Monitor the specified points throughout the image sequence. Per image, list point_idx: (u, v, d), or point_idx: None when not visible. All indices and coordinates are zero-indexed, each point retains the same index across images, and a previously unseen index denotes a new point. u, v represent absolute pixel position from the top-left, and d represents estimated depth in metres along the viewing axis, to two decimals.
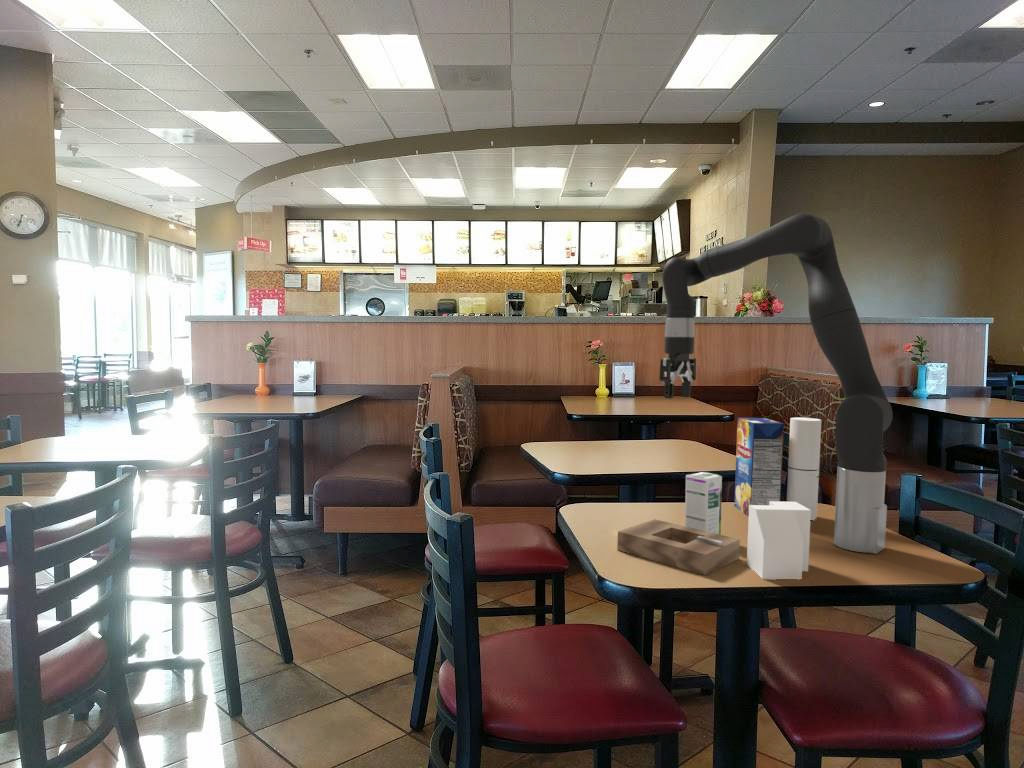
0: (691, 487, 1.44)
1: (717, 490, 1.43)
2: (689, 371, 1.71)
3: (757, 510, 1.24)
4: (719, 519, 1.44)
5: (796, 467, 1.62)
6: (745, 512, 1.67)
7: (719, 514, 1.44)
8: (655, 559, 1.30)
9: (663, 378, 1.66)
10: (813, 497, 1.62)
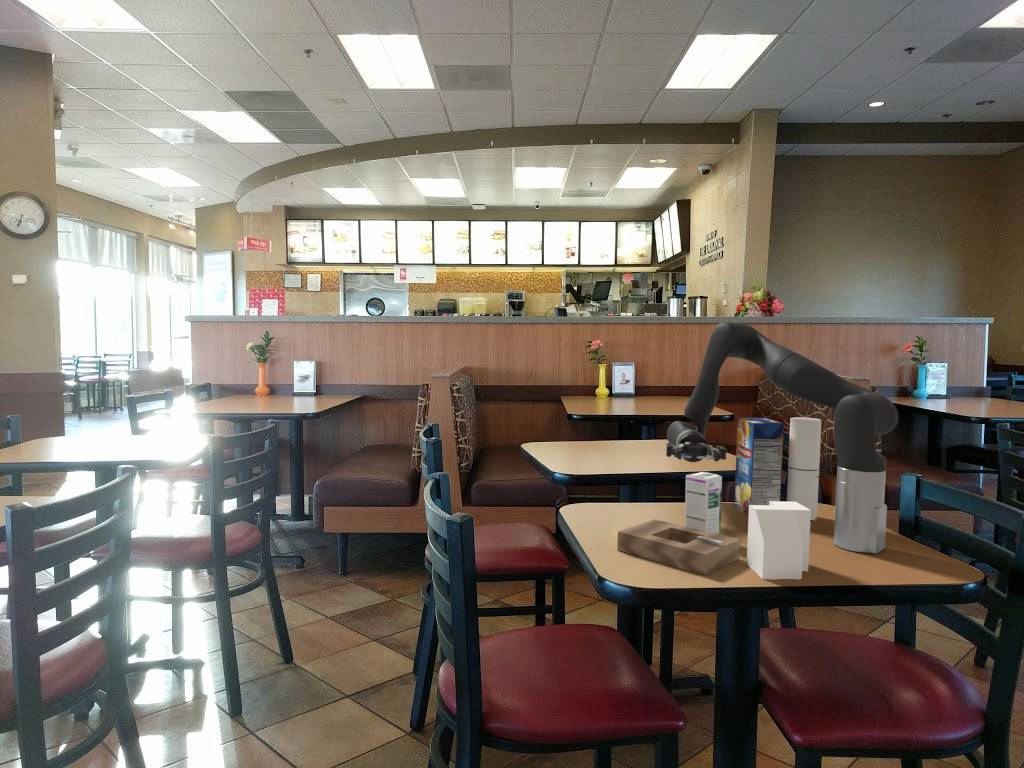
0: (691, 487, 1.44)
1: (717, 490, 1.43)
2: (706, 445, 1.62)
3: (757, 510, 1.24)
4: (719, 519, 1.44)
5: (796, 467, 1.62)
6: (745, 512, 1.67)
7: (719, 514, 1.44)
8: (655, 559, 1.30)
9: None
10: (813, 497, 1.62)
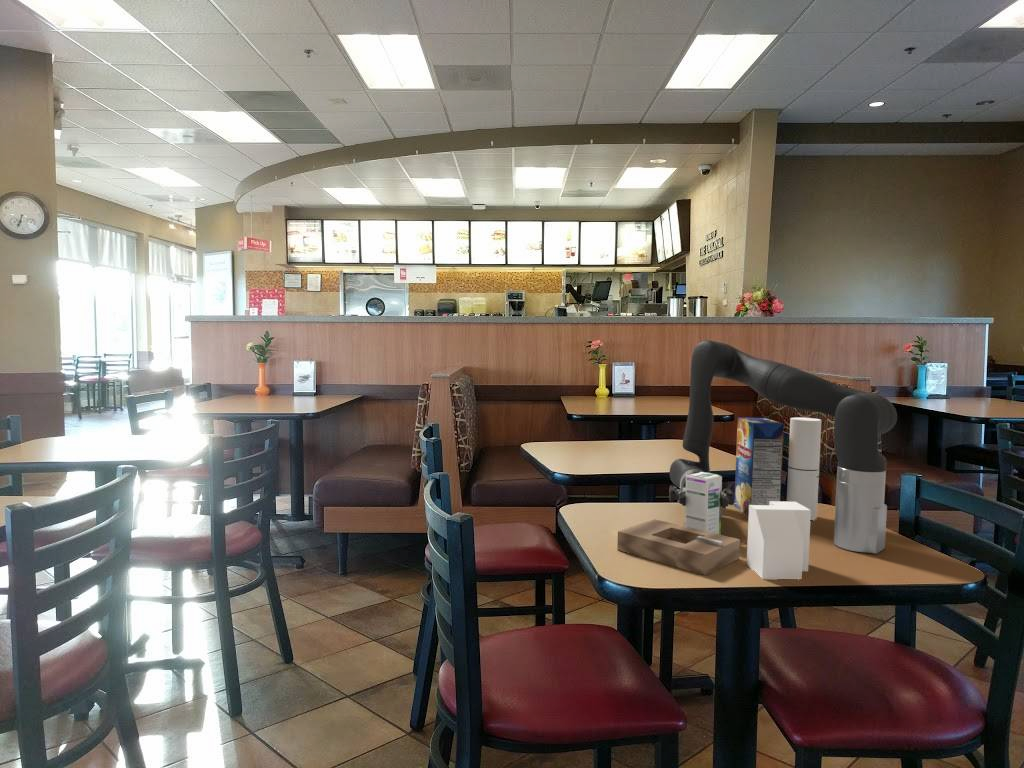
0: (691, 487, 1.44)
1: (717, 490, 1.43)
2: None
3: (757, 510, 1.24)
4: (719, 519, 1.44)
5: (796, 467, 1.62)
6: (745, 512, 1.67)
7: (719, 514, 1.44)
8: (655, 559, 1.30)
9: None
10: (813, 497, 1.62)
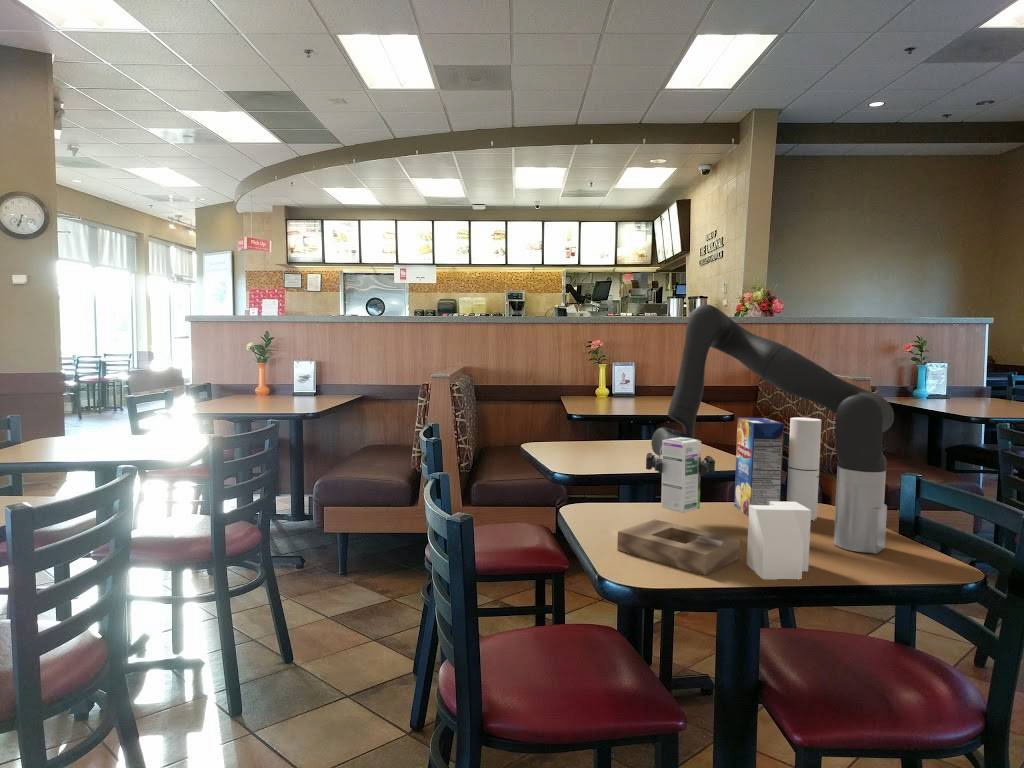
0: (667, 452, 1.34)
1: (695, 455, 1.33)
2: None
3: (757, 510, 1.24)
4: (698, 487, 1.34)
5: (796, 467, 1.62)
6: (745, 512, 1.67)
7: (698, 482, 1.34)
8: (655, 559, 1.30)
9: None
10: (813, 497, 1.62)
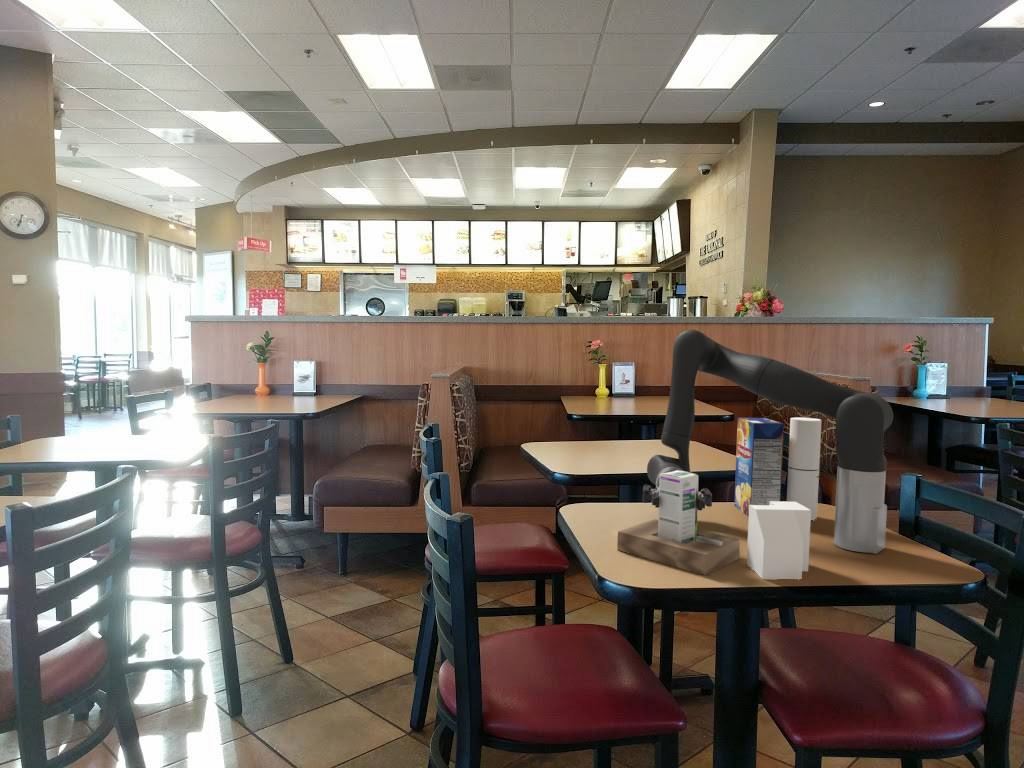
0: (664, 487, 1.33)
1: (693, 490, 1.32)
2: None
3: (757, 510, 1.24)
4: (695, 521, 1.33)
5: (796, 467, 1.62)
6: (745, 512, 1.67)
7: (695, 516, 1.33)
8: (655, 559, 1.30)
9: None
10: (813, 497, 1.62)
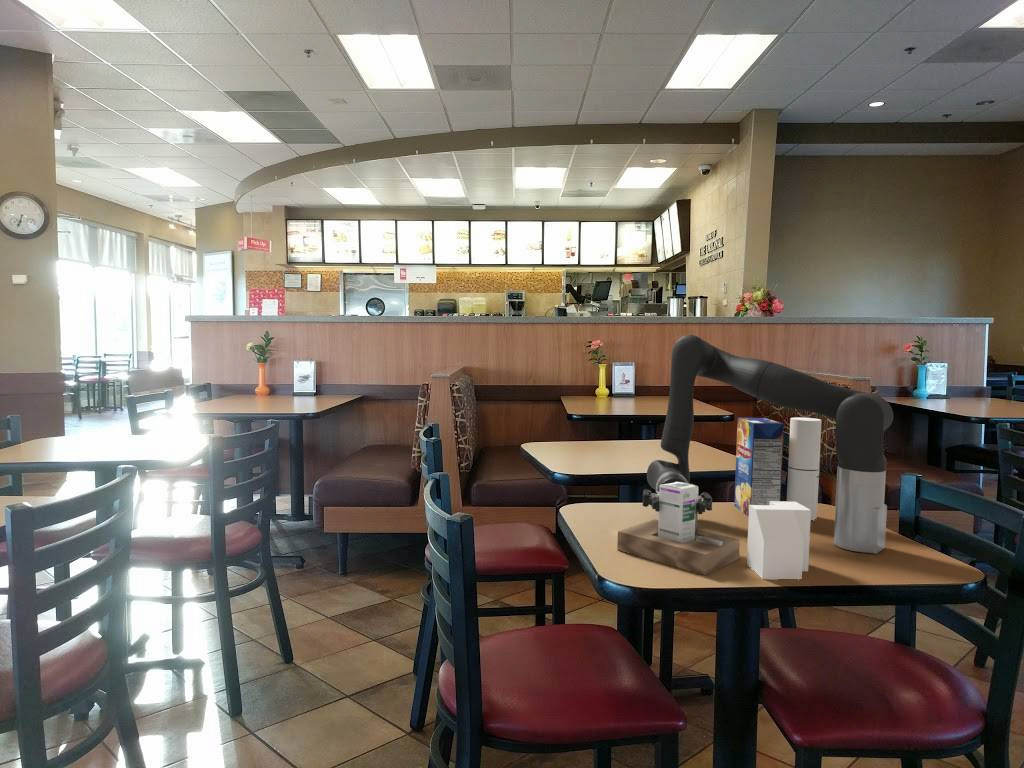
0: (664, 498, 1.33)
1: (693, 501, 1.32)
2: None
3: (757, 510, 1.24)
4: (695, 533, 1.33)
5: (796, 467, 1.62)
6: (745, 512, 1.67)
7: (695, 528, 1.33)
8: (655, 559, 1.30)
9: None
10: (813, 497, 1.62)
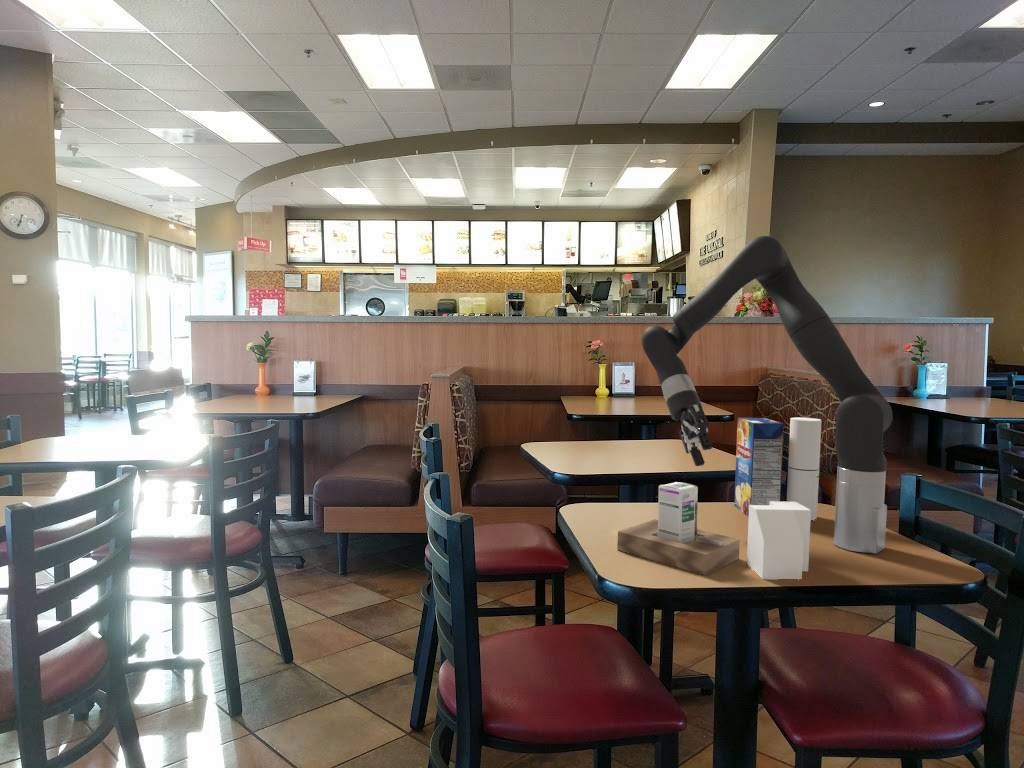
0: (664, 498, 1.33)
1: (692, 501, 1.32)
2: None
3: (757, 510, 1.25)
4: (695, 533, 1.33)
5: (796, 467, 1.62)
6: (745, 512, 1.67)
7: (694, 528, 1.33)
8: (655, 559, 1.30)
9: (702, 422, 1.45)
10: (813, 497, 1.62)
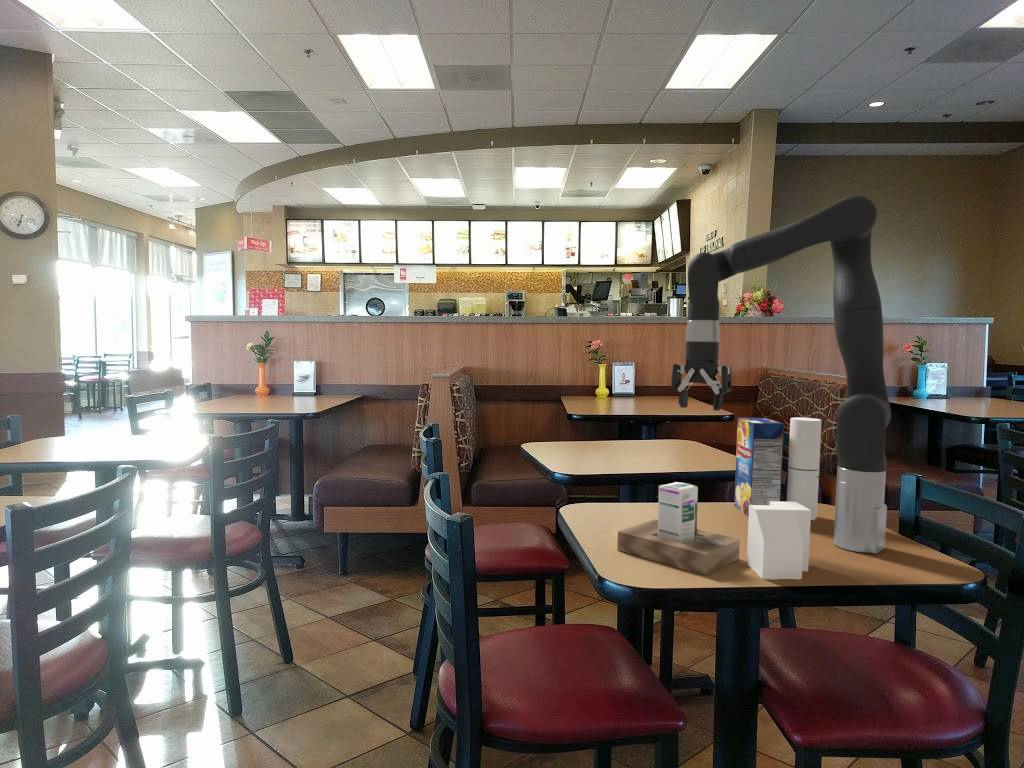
0: (664, 498, 1.33)
1: (692, 501, 1.32)
2: None
3: (757, 510, 1.24)
4: (695, 533, 1.33)
5: (796, 467, 1.62)
6: (745, 512, 1.67)
7: (695, 528, 1.33)
8: (655, 559, 1.30)
9: (728, 388, 1.48)
10: (813, 497, 1.62)
